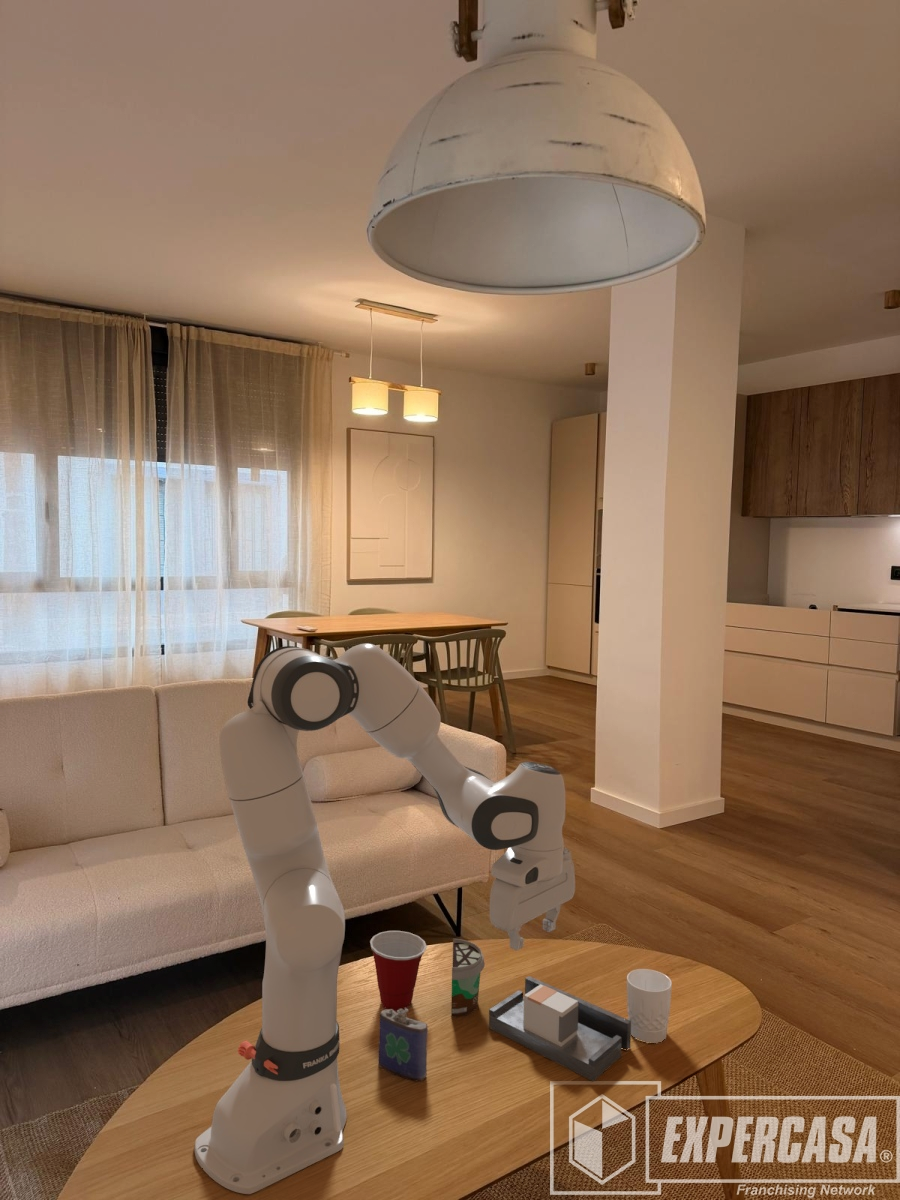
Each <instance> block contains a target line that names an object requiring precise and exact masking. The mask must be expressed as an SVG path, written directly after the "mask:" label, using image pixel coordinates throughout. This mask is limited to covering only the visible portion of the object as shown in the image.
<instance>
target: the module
mask: <svg viewBox="0 0 900 1200" xmlns="http://www.w3.org/2000/svg"><path fill="white" fill-rule="evenodd" d="M523 997H524V1019H523V1028H524V1029H526V1030H528V1031H530V1032H532V1033H534V1034H536V1035H538V1036H540V1037H542V1038H545V1039H547V1040H549V1041H551V1042H553V1043H555V1044H557V1045H559V1046H561V1047H562V1046H563V1045H564V1044H565V1043H567V1042H568V1041H569V1040H570V1039H572V1038H573V1037H574V1036H575V1035H577V1030H578V1001H577V1000H575V999H573V998H570V997H568V996H566V995H564V994H561V993H559V992H557V991H556V990H553V989H551V988H549V987H547V986H543V985H541V984H540V985H539V986H537V987H536V988H534V989H533V990H531V991H530V992H528V993H527V994H525V993H524V994H523Z"/></svg>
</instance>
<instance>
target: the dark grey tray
mask: <svg viewBox="0 0 900 1200" xmlns="http://www.w3.org/2000/svg"><path fill="white" fill-rule="evenodd" d="M524 980H525V981H524V982H525V983H524V992H523V991H522V990H517V991H515V992H513V993H512V994H510V995H509V996H507V997H506V998H504V999H503V1000H501V1001H500V1002H498V1003H497V1004H495V1005H494V1006H493V1007H491V1008H489V1009H488V1011H489V1012H488V1029H490V1030H491V1031H493V1032H495V1033H498V1034H499V1035H502V1036H503V1037H506V1038H507V1039H509V1040H511V1041H513V1042H515V1043H517V1044H520V1045H522V1046H523V1047H524V1048H527V1049H528V1050H531V1051H533V1052H534V1053H537V1054H539V1055H541V1056H543V1057H544V1058H545V1059H549V1060H550V1061H553V1062H554V1063H557V1064H559V1065H560V1066H562V1067H564V1068H566V1069H568V1070H570V1071H571V1072H574V1073H576V1074H578V1075H579V1076H581V1077H584V1078H585V1079H588V1080H589V1081H592V1082H595V1081H596V1080H597V1079H598V1078H599V1077H600V1076H601V1075H603V1072H604V1071H605V1070H606V1069H607V1068H608V1067H609V1066H610V1067H612V1066H613V1065H614V1064H613V1063H614V1062H615V1061H616V1060H617V1061H618V1060H619V1059H621V1057H622V1049H621V1048H623V1049H626V1050H627V1049H628V1048H630V1049H631V1037H632V1036H631V1021H630V1020H628V1018H626V1017H624V1016H621V1015H618V1014H616V1013H614V1012H612V1011H609V1010H607V1009H605V1008H603V1007H601V1006H598V1005H596V1004H593V1003H591V1002H589V1001H587V1000H584V999H582V998H580V997H577V996H575V995H572V994H570V993H569V992H567V991H564V990H562V989H559V988H557V987H554V986H553V985H550V984H548V983H545V982H543V981H541V980H539V979H537V978H534V977H532V976H527V977H525V978H524ZM540 984H541V985H543V986H547V987H549V988H551V989H553V990H556V991H557V992H559V993H561V994H564V995H566V996H568V997H570V998H573V999H575V1000H577V1001H578V1030H577V1035H575V1036H574V1037H573V1038H572V1039H570V1040H569V1041H568V1042H567V1043H565V1044H564V1045H563V1046H562V1047H561V1046H559V1045H557V1044H555V1043H553V1042H551V1041H549V1040H547V1039H545V1038H542V1037H540V1036H538V1035H536V1034H534V1033H532V1032H530V1031H528V1030H526V1029H524V1028H523V1019H524V995H525V994H527V993H528V992H530V991H531V990H533V989H534V988H536V987H537V986H539V985H540ZM617 1061H616V1062H617ZM616 1062H615V1063H616ZM610 1067H609V1068H610ZM609 1068H608V1069H609ZM608 1069H607V1070H608ZM607 1070H606V1071H607ZM606 1071H605V1072H606Z"/></svg>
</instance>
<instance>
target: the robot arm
mask: <svg viewBox="0 0 900 1200" xmlns="http://www.w3.org/2000/svg"><path fill="white" fill-rule="evenodd" d="M251 683H252V684H251V687H250V691H249V693H248V698H247V707H248V708H249V709H247V710H244V711H242V712H240V713H237V714H236V715H234V716H232V717H231V718H230V719H229V720H227V721H226V722H225V723H224V725H223V726H222V728H221V729H220V733H219V739H218V742H219V743H218V744H219V755H220V762H221V764H220V765H221V768H222V769H221V770H222V774H223V779H224V784H225V787H226V788H225V789H226V792H227V796H228V799H229V803H230V806H231V809H232V813H233V816H234V819H235V820H234V821H235V823H236V826H237V830H238V833H239V837H240V839H241V843H242V847H243V850H244V853H245V856H246V858H247V862H248V865H249V867H250V871H251V875H252V877H253V880H254V884H255V887H256V891H257V894H258V898H259V901H260V905H261V910H262V915H263V921H264V928H265V959H264V971H263V972H264V973H263V978H262V983H261V984H262V988H261V989H262V992H261V993H262V996H261V999H262V1002H261V1003H262V1007H261V1008H262V1009H261V1010H262V1012H261V1014H262V1015H261V1017H262V1020H261V1023H262V1026H261V1029H260V1030H259V1033H258V1037H257V1040H256V1042H255V1043H256V1044H255V1045H253V1044H251V1042H250V1041H249V1040H244V1041H242V1042H241V1043H240V1044H239V1046H238V1049H237V1053H238V1055H240V1056H241V1057H243V1058H244V1060H247V1061H249V1060H251V1061H250V1062H249V1063H248V1065H246V1067H245V1068H244V1069H243V1070H242V1072H241V1073H240V1074H239V1076H238V1077H237V1078H236V1079H235V1081H234V1082H233V1083H232V1085H230V1087H229V1088H228V1089H227V1091H226V1092H225V1093H224V1094H223V1095H222V1096H221V1098H220V1099H219V1100H218V1102H217V1103H216V1106H215V1109H214V1111H213V1115H212V1122H211V1126H209V1127H208V1128H207V1129H206V1130H205V1131H203V1132H202V1133H201V1134H200V1135H198V1136H197V1137H196V1139H195V1141H194V1156H195V1159H196V1161H197V1163H198V1165H199V1166H200V1167H201V1169H202V1168H203V1169H202V1171H204V1172H205V1173H206V1174H207V1175H208V1177H209V1178H211V1179H212V1180H214V1182H216V1183H217V1184H219V1186H222V1187H223V1188H226V1189H227V1190H229V1191H232V1192H236V1193H238V1194H245V1195H252V1194H254V1193H256V1192H258V1191H261V1190H263V1189H265V1188H267V1187H268V1186H271V1185H273V1184H275V1183H277V1182H279V1181H281V1180H283V1179H285V1178H287V1177H289V1176H292V1175H293V1174H295V1173H297V1172H299V1171H302V1170H304V1169H305V1168H308V1167H309V1166H311V1165H313V1164H315V1163H318V1162H319V1161H322V1160H324V1159H325V1158H327V1157H329V1156H332V1155H334V1154H336V1153H337V1152H339V1151H341V1150H342V1149H343V1147H344V1144H345V1143H344V1133H343V1130H344V1127H345V1125H346V1122H347V1115H348V1114H347V1109H346V1106H345V1103H344V1100H343V1093H342V1089H341V1085H340V1084H341V1083H340V1078H339V1067H338V1056H339V1054H340V1044H341V1043H340V1025H339V1023H338V1021H337V1020H338V1019H337V1017H338V1016H337V1015H338V1012H337V1011H338V1005H337V1004H338V977H339V975H338V974H339V968H340V963H341V956H342V951H343V944H344V942H345V941H344V940H345V932H346V918H345V910H344V906H343V903H342V900H341V899H340V896H339V894H338V891H337V890H336V887H335V884H334V881H333V880H332V877H331V874H330V872H329V868H328V865H327V860H326V857H325V854H324V850H323V849H324V848H323V846H322V840H321V837H320V835H321V834H320V831H319V827H318V821H317V818H316V813H315V810H314V806H313V802H312V799H311V795H310V792H309V788H308V785H307V782H306V778H305V774H304V771H303V768H302V764H301V760H300V758H299V756H298V755H299V754H298V743H297V742H298V735H299V732H300V731H304V732H314V731H318V730H322V729H324V728H326V727H329V726H330V725H331V724H333V723H335V722H336V721H337V720H339V719H341V718H342V717H345V716H346V715H350V717H352V719H354V720H355V721H356V723H357V724H359V726H360V728H362V729H363V730H364V732H366V733H367V734H368V735H369V737H370V738H371V739H372V740H374V741H375V742H376V744H378V745H379V746H380V747H381V748H383V749H384V750H385V751H386V752H388V753H390V754H391V755H393V756H395V757H396V758H398V759H405V760H407V761H408V762H409V763H411V765H412V766H413V767H414V768H415V769H416V770H417V771H418V772H419V773H420V775H422V777H423V778H424V779H425V780H426V781H427V782H428V783H429V785H430V786H431V788H433V790H434V792H435V794H436V797H437V800H438V803H439V807H440V810H441V812H442V814H443V816H444V818H446V820H447V821H448V822H449V823H451V824H452V825H453V826H455V827H456V828H458V829H460V830H461V831H463V832H464V833H465V834H466V835H467V836H468V837H469V838H471V839H472V840H473V841H474V842H476V843H477V844H478V845H479V846H481V847H483V848H485V849H487V850H492V851H499V850H505V849H506V851H504V853H503V854H502V855H501V856H500V857H499V858H498V859H497V860H496V861H494V863H493V864H492V865H491V869H490V871H491V872H490V874H491V877H492V878H494V880H493V882H492V884H491V888H490V896H489V897H490V898H489V920H490V923H491V925H492V926H493V927H494V928H496V929H499V930H501V931H503V932H506V933H507V935H508V937H509V948H510V949H511V950H514V951H519V950H521V949H522V948H524V942H525V941H524V939H525V938H524V937H522V936H520V935H521V934H520V931H521V930H522V926H523V925H524V924H526V923H528V922H531V921H532V920H534V919H536V918H538V917H540V916H541V915H544V914H545V917H544V918H543V919H542V929H543V930H542V931H545V932H547V933H551V932H553V931H554V930H556V927H557V926H556V924H557V923H556V922H557V919H558V916H559V915H560V912H561V910H562V909H561V908H562V907H561V906H562V904H564V903H566V902H569V901H570V900H572V899H573V898H574V894H575V892H576V877H575V865H574V862H573V860H572V852H571V851H570V849H569V848H567V847H566V846H565V844H564V843H565V841H564V836H563V825H564V823H565V820H566V788H565V787H566V786H565V781H564V776H563V775H562V774H561V772H560V771H558V770H557V769H555V768H554V767H552V766H549V765H546V764H543V763H538V762H534V761H525V762H520V764H518V765H517V768H515V770H514V771H512V772H511V773H510V774H509V775H507V776H506V777H504V778H502V779H501V780H499V781H497V782H494V781H492V780H491V779H490V778H488V776H486V775H485V774H484V773H482V772H480V771H478V770H475V769H472V768H470V767H467V766H465V765H463V764H462V762H460V760H458V758H457V757H456V756H455V754H453V752H452V751H451V750H450V749H449V748H448V747H447V745H446V744H445V743H444V742H443V740H441V737H440V736H439V735H438V733H439V731H440V728H441V721H442V720H441V714H440V712H439V710H438V708H437V706H436V705H435V702H434V701H433V699H432V698H431V696H430V695H429V694H428V693H427V690H425V688H424V687H423V686H422V685H421V684H420V683H419V682H418V681H417V680H416V678H415V677H414V676H413V675H412V674H411V673H410V672H409V671H408V670H407V669H406V668H405V667H404V666H403V665H402V664H400V663H399V661H397V660H396V659H395V658H394V657H392V656H391V655H390V654H389V653H387V652H386V651H385V650H383V649H382V648H381V647H379V646H378V645H375V644H373V643H360V644H357V645H354V646H351V647H350V648H348V649H347V650H345V651H344V652H343V653H342V654H341V655H340V656H339V657H337V658H336V659H330V658H328V657H325V656H323V655H320V654H319V653H317V652H316V651H314V650H311V649H307V648H303V647H302V648H301V647H299V646H293V645H286V646H284V645H283V646H281V647H278V648H275V649H272V650H271V651H270V652H268V653H266V654H265V655H264V656H263V657H262V658H261V660H260V661H259V662H258V664H257V666H256V668H255V671H254V674H253V678H252V682H251Z"/></svg>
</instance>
